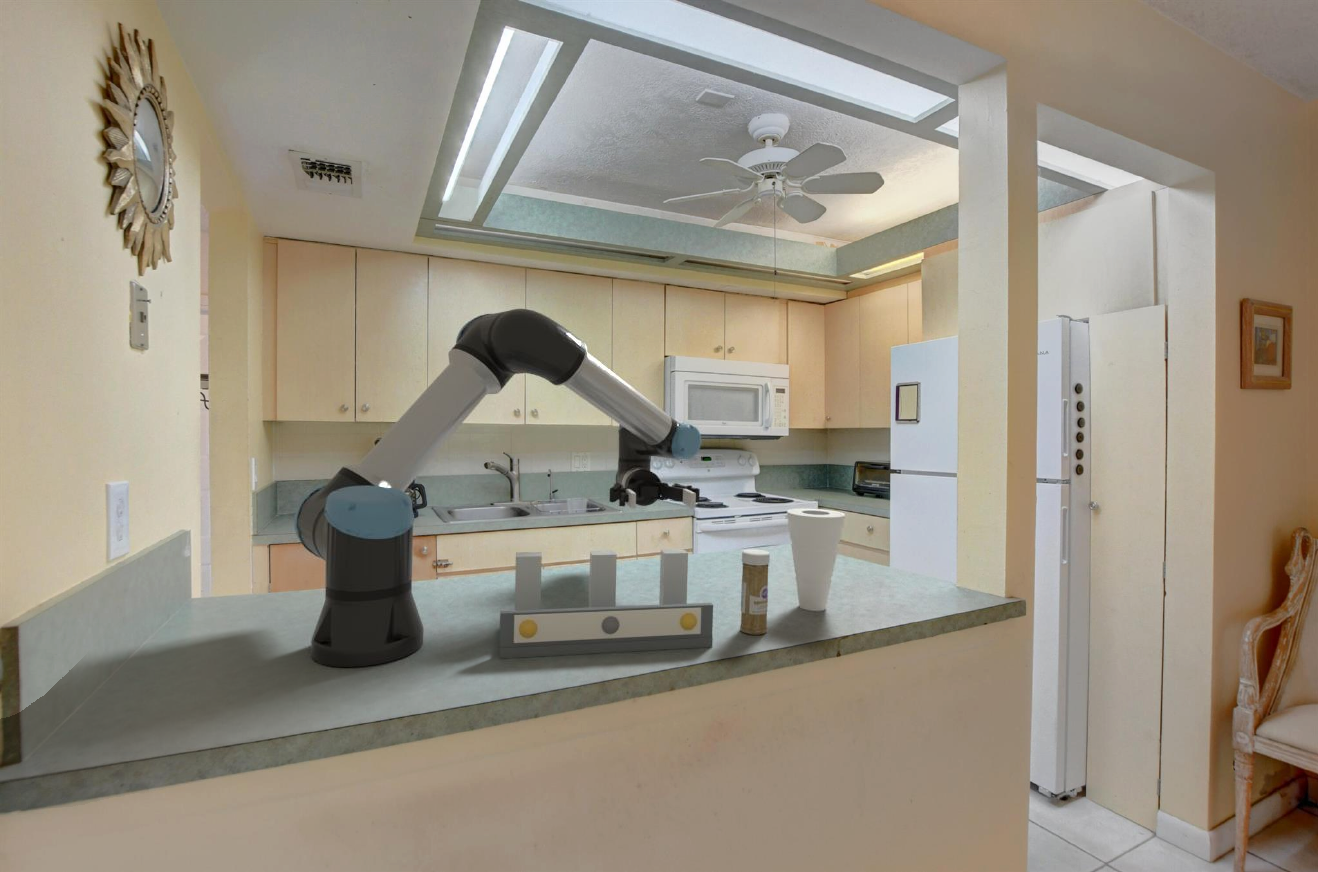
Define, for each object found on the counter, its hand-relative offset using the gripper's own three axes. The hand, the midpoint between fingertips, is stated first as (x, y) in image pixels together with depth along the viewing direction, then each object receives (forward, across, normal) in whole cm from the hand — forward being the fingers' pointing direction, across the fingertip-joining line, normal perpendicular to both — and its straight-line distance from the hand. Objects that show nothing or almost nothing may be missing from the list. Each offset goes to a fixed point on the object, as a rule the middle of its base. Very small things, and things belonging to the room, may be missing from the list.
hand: (664, 500), depth 114 cm
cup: (+2, -29, -20) cm, 35 cm away
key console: (+12, +12, -20) cm, 26 cm away
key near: (+9, +24, -18) cm, 31 cm away
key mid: (+9, +12, -18) cm, 24 cm away
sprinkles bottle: (+13, -13, -20) cm, 27 cm away
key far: (+9, 0, -18) cm, 20 cm away
